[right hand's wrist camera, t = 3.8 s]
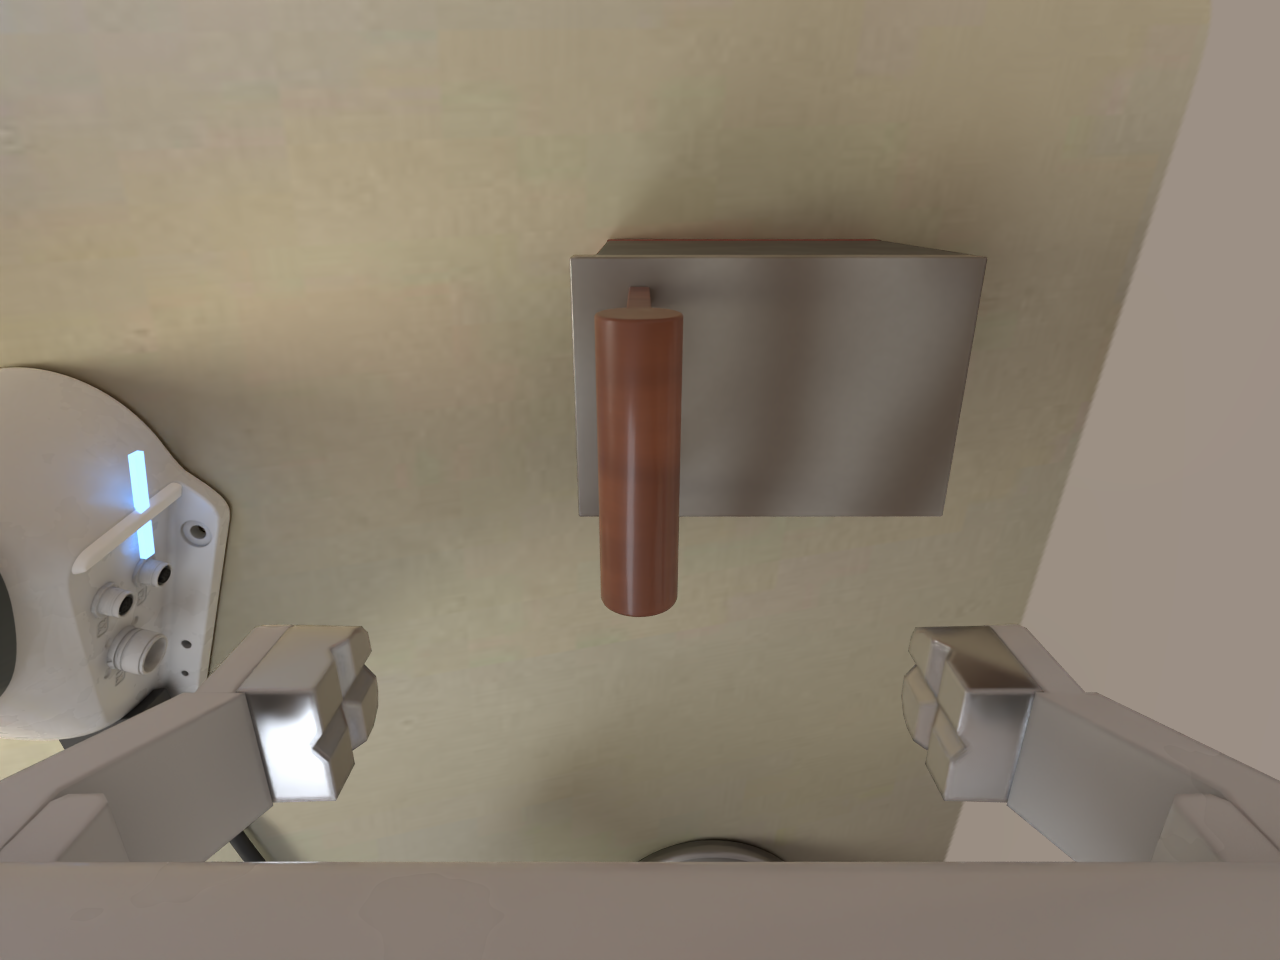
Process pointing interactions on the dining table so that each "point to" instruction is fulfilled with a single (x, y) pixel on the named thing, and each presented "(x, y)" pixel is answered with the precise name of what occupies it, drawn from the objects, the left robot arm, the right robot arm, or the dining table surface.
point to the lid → (760, 394)
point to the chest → (763, 247)
